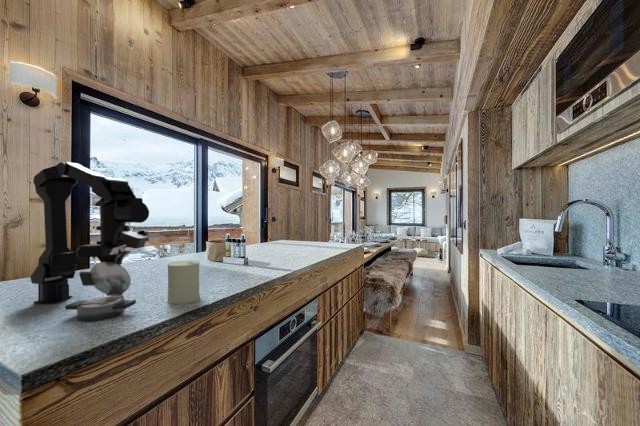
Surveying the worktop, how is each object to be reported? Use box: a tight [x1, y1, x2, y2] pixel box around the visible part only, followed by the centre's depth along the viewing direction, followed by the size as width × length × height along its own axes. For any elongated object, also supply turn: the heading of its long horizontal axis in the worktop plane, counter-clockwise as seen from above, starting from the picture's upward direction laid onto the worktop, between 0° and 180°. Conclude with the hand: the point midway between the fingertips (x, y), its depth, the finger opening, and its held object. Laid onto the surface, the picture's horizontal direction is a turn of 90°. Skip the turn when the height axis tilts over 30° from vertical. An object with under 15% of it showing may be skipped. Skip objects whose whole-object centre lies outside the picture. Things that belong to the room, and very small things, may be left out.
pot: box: [65, 295, 137, 323], centre depth 76 cm, size 15×11×4 cm
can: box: [167, 260, 201, 305], centre depth 89 cm, size 9×9×12 cm
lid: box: [78, 261, 132, 297], centre depth 79 cm, size 13×11×1 cm
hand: (113, 277), depth 80 cm, fingers closed
